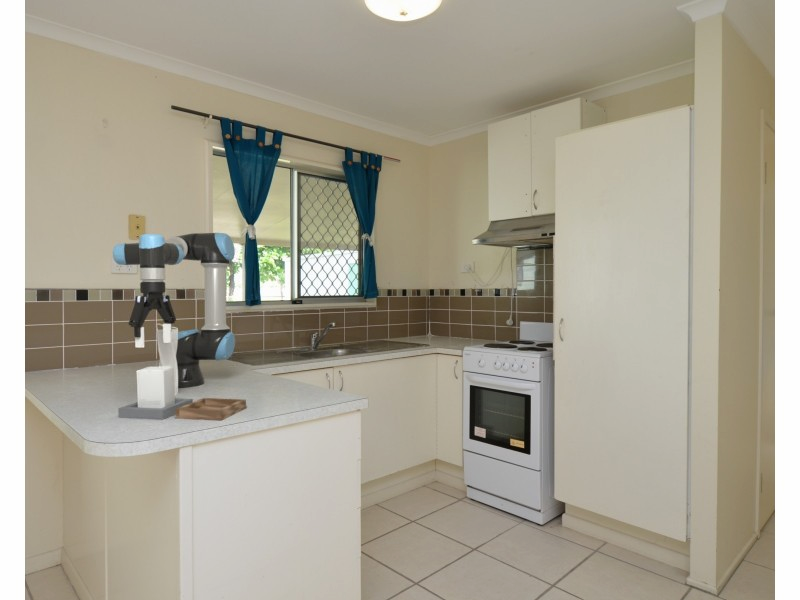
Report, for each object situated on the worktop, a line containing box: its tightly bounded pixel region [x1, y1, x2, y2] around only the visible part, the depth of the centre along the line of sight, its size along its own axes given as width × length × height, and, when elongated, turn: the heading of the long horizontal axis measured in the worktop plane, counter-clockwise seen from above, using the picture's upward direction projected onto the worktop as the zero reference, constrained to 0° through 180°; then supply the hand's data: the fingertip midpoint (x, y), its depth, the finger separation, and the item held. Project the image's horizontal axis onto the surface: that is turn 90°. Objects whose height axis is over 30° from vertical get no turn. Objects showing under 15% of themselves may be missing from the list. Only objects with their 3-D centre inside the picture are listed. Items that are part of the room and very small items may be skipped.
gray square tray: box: [117, 397, 194, 420], centre depth 170 cm, size 16×16×3 cm
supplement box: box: [135, 365, 176, 408], centre depth 170 cm, size 9×9×15 cm
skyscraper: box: [155, 323, 179, 397], centre depth 195 cm, size 8×8×28 cm
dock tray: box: [174, 397, 247, 421], centre depth 168 cm, size 16×16×3 cm
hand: (154, 345), depth 169 cm, fingers open, 13 cm apart
